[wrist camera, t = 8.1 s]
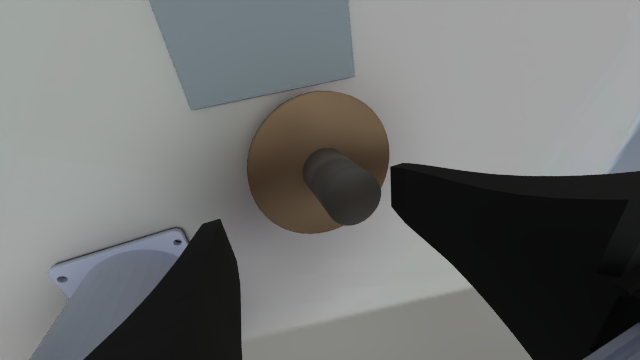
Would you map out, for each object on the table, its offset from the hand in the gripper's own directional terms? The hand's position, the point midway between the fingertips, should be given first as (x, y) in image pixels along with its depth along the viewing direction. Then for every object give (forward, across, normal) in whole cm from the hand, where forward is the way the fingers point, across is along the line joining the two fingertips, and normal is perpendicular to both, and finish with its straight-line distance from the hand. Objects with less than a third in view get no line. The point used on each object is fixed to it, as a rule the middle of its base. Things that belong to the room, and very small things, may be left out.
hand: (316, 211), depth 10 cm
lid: (+6, -2, +1) cm, 6 cm away
